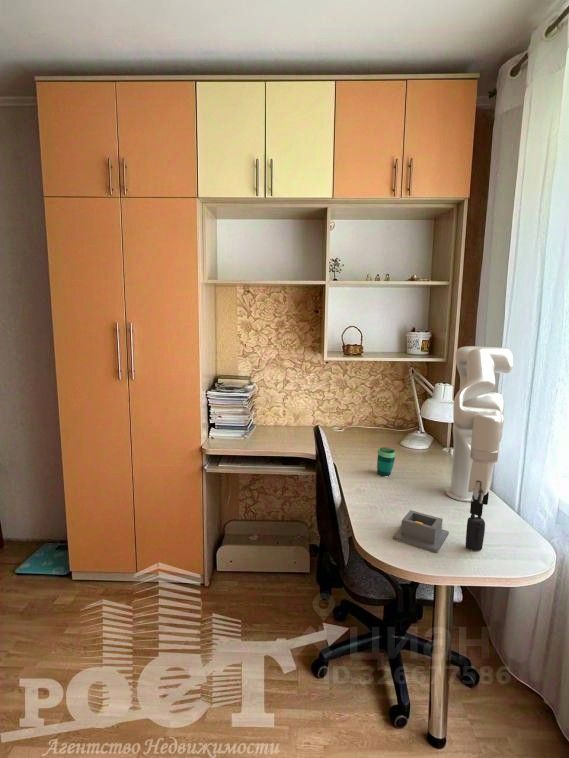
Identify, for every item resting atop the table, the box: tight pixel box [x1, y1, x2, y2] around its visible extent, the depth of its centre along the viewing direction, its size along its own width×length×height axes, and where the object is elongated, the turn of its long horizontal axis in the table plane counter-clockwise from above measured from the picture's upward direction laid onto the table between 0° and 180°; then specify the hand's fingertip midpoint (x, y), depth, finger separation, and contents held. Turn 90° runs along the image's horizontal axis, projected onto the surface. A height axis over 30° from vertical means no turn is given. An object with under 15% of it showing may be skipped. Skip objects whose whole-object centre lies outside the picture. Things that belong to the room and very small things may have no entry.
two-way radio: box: [464, 513, 486, 552], centre depth 133 cm, size 6×4×15 cm
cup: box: [376, 446, 397, 477], centre depth 192 cm, size 8×8×12 cm
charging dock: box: [392, 509, 450, 554], centre depth 141 cm, size 14×14×6 cm
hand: (479, 508), depth 131 cm, fingers open, 9 cm apart
